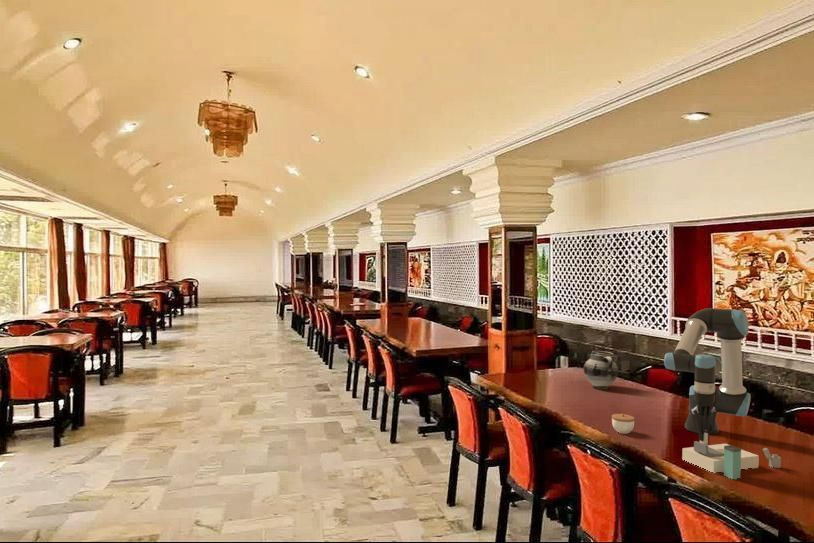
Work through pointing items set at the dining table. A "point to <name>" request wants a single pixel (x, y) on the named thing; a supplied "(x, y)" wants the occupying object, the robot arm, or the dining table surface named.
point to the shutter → (706, 450)
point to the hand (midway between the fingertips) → (703, 448)
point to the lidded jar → (623, 423)
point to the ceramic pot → (601, 369)
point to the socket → (718, 459)
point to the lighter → (772, 459)
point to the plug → (732, 461)
